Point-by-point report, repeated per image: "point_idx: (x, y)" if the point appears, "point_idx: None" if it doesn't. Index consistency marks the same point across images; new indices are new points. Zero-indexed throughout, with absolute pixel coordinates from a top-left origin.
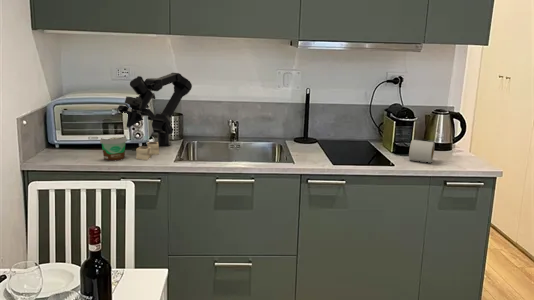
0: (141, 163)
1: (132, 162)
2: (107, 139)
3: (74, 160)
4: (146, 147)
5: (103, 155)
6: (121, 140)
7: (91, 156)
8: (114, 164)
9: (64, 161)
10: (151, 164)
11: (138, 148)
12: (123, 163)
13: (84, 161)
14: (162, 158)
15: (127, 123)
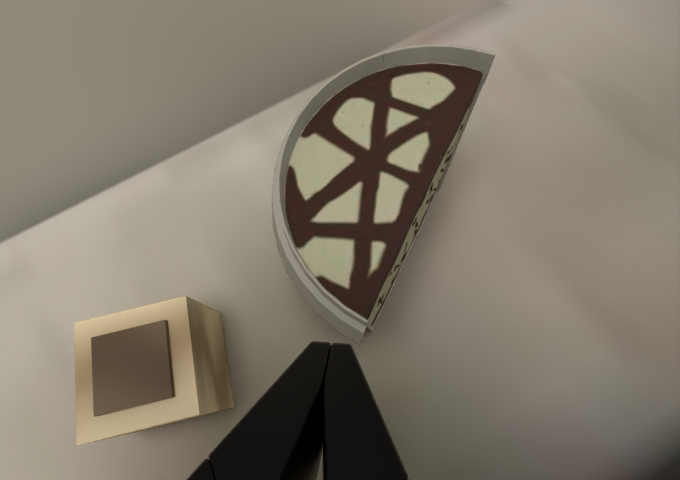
0: (129, 238)
1: (202, 227)
2: (389, 51)
3: (578, 75)
4: (100, 376)
5: (445, 174)
6: (278, 160)
7: (576, 200)
8: (284, 132)
9: (607, 34)
10: (49, 254)
11: (174, 319)
12: (245, 177)
13: (504, 90)
14: (30, 451)
15: (346, 385)
